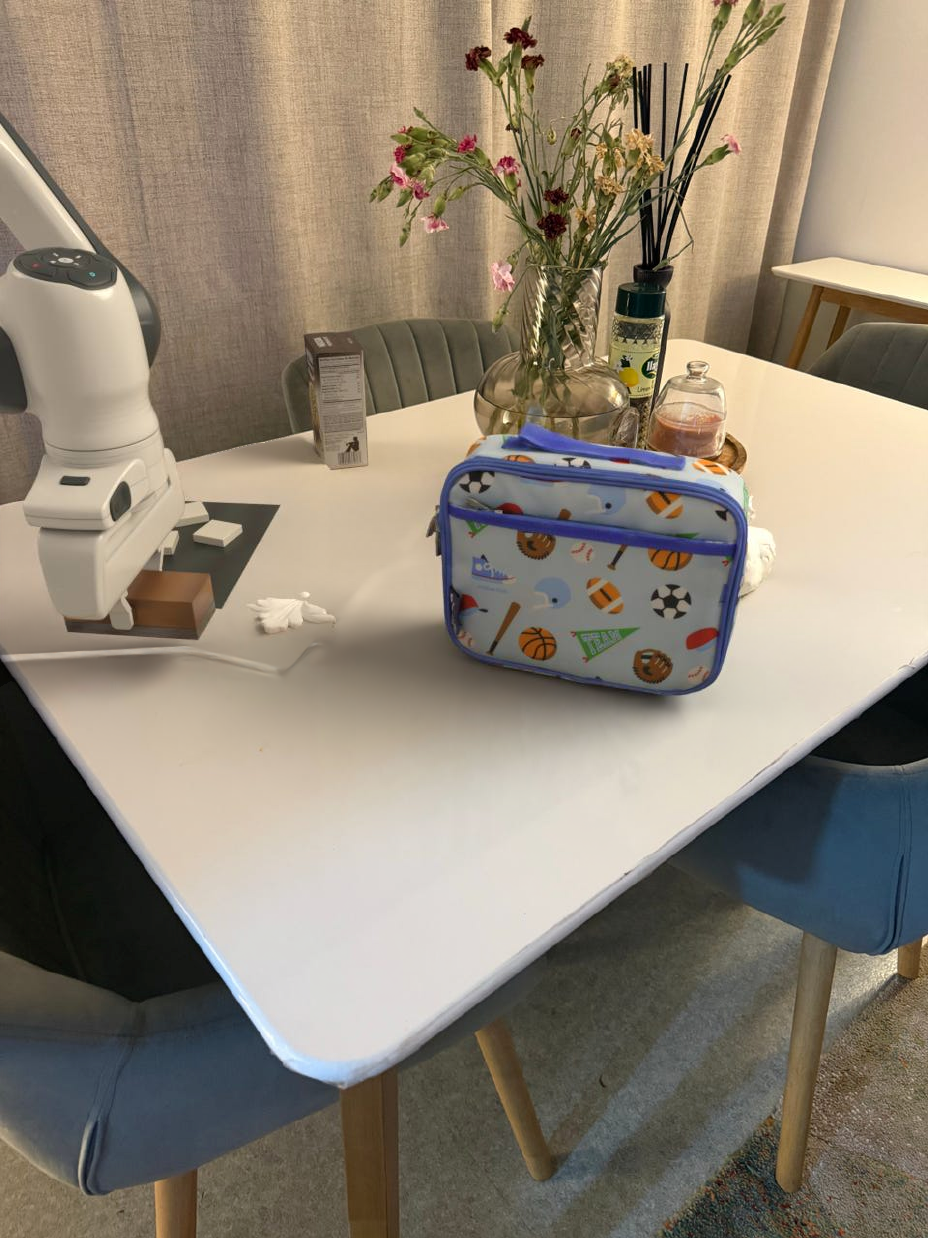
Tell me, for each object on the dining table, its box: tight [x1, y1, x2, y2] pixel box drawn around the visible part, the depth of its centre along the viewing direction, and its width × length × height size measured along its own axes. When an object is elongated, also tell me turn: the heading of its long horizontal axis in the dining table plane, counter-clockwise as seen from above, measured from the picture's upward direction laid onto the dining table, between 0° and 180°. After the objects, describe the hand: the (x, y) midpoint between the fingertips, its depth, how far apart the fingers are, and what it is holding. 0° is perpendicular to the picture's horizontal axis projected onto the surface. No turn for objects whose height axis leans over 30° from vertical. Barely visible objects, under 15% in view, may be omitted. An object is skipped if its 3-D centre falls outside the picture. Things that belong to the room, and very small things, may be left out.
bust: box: [741, 494, 777, 596], centre depth 94 cm, size 12×8×11 cm
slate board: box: [162, 500, 281, 610], centre depth 100 cm, size 18×26×1 cm
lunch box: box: [425, 421, 750, 696], centre depth 78 cm, size 28×10×22 cm, turn 73°
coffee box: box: [303, 331, 369, 470], centre depth 120 cm, size 9×6×16 cm
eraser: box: [62, 570, 217, 641], centre depth 80 cm, size 12×5×4 cm, turn 86°
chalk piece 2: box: [175, 500, 209, 527], centre depth 106 cm, size 4×4×1 cm
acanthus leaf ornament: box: [246, 591, 337, 635], centre depth 89 cm, size 8×7×2 cm
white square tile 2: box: [193, 520, 242, 547], centre depth 102 cm, size 4×4×1 cm
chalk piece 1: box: [163, 531, 179, 555], centre depth 100 cm, size 4×4×1 cm
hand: (139, 606), depth 80 cm, fingers closed on eraser, 5 cm apart
